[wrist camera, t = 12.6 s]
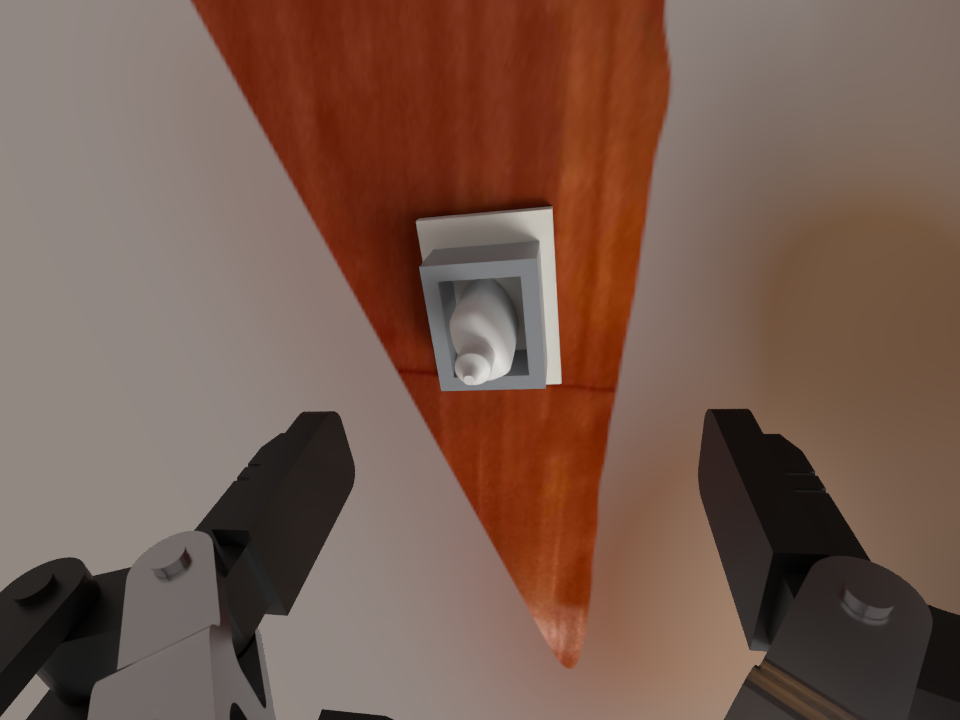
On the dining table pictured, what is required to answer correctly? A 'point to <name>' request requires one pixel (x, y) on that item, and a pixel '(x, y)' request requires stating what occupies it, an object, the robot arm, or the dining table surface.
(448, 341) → the socket
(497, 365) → the eye dropper bottle
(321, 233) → the dining table surface
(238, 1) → the dining table surface
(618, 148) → the dining table surface
